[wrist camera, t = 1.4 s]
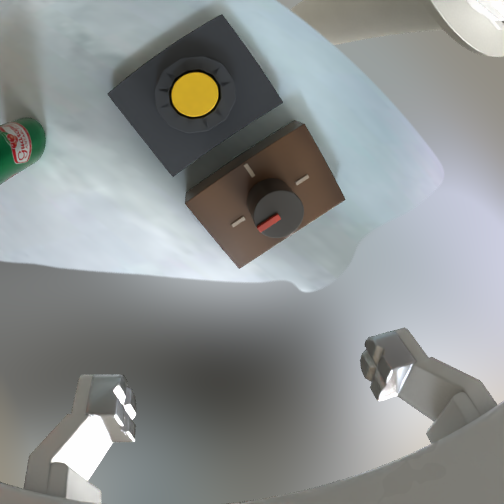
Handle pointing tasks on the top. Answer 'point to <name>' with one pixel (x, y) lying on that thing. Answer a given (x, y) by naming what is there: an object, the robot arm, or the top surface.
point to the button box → (205, 126)
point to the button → (194, 94)
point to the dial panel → (253, 171)
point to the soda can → (20, 146)
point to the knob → (275, 208)
